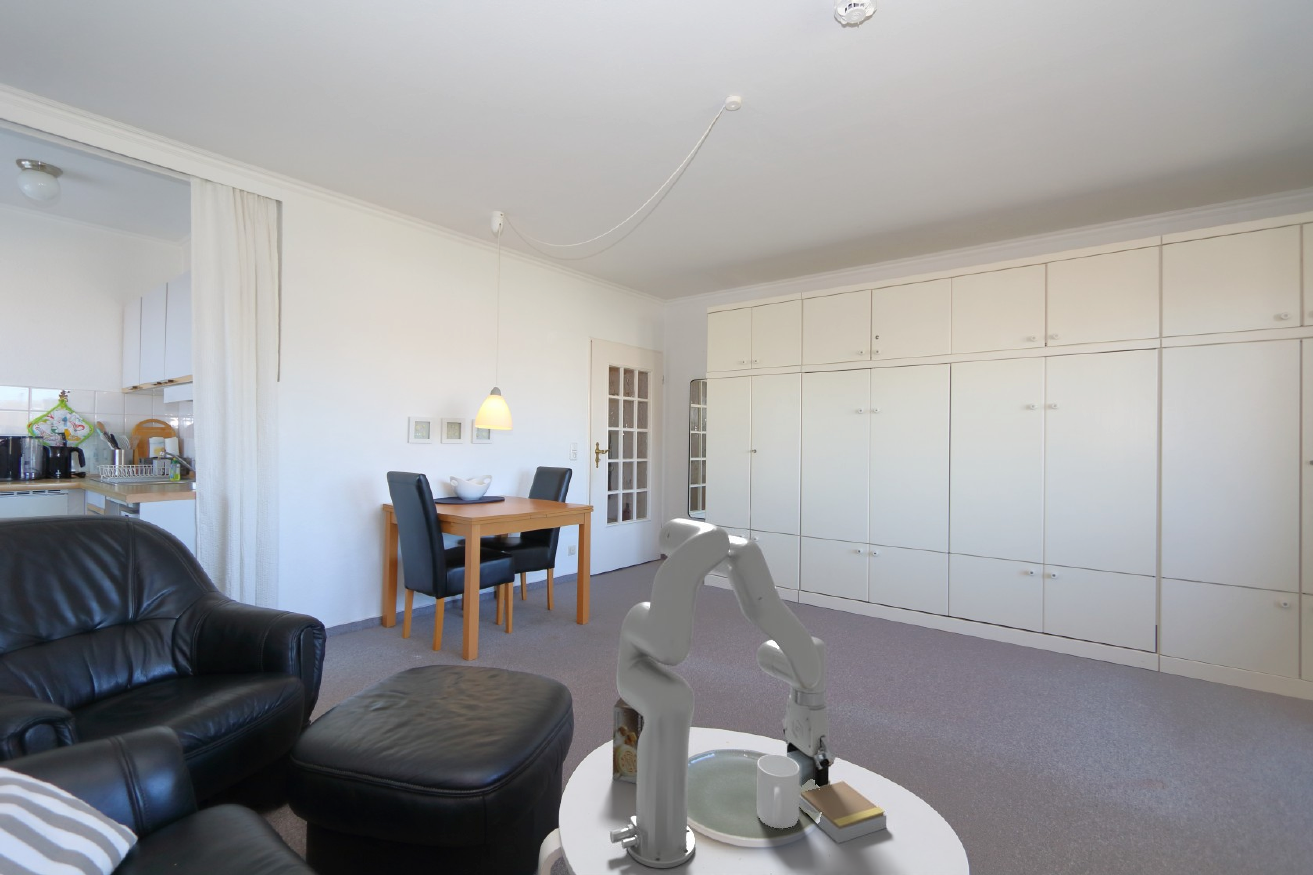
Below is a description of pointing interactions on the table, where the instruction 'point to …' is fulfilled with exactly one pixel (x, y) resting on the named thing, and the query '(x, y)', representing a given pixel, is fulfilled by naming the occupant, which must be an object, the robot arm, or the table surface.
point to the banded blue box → (805, 766)
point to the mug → (778, 791)
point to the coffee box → (625, 741)
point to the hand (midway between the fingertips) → (806, 773)
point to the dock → (843, 811)
